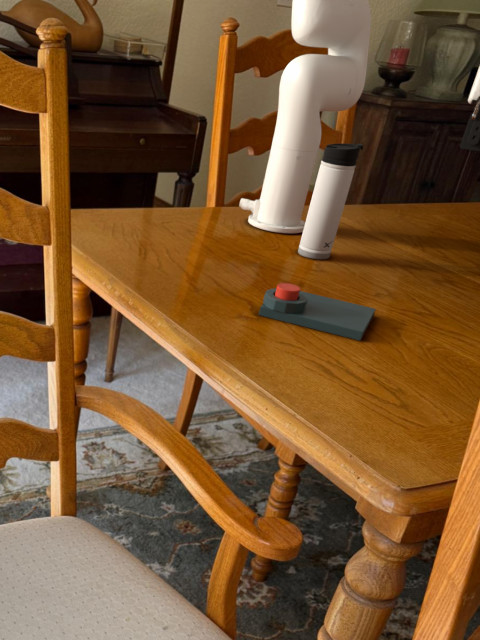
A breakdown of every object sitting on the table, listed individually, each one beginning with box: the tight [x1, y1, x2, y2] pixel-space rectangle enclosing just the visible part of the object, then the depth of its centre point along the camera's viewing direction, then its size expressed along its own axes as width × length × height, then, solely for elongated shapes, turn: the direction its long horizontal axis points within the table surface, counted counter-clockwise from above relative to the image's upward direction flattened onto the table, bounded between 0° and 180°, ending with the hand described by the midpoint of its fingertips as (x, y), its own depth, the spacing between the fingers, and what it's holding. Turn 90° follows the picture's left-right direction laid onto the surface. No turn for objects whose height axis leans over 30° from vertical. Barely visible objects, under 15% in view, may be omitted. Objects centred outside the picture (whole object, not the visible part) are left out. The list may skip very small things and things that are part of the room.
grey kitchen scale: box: [258, 287, 376, 341], centre depth 115 cm, size 16×12×3 cm
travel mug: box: [297, 143, 364, 261], centre depth 137 cm, size 6×7×20 cm
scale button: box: [275, 282, 301, 301], centre depth 114 cm, size 4×4×2 cm
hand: (470, 145), depth 118 cm, fingers open, 9 cm apart
